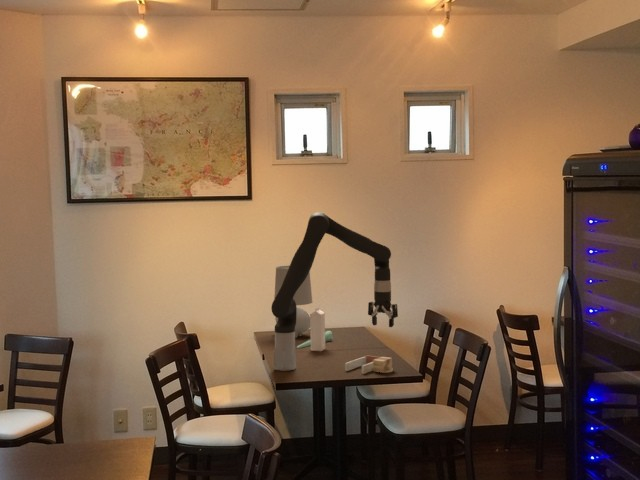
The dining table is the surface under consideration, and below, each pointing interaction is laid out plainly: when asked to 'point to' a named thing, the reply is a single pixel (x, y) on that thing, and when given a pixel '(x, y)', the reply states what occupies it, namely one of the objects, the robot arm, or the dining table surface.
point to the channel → (361, 363)
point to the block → (382, 364)
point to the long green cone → (308, 343)
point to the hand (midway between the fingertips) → (382, 326)
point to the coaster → (388, 371)
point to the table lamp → (296, 299)
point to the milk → (317, 330)
